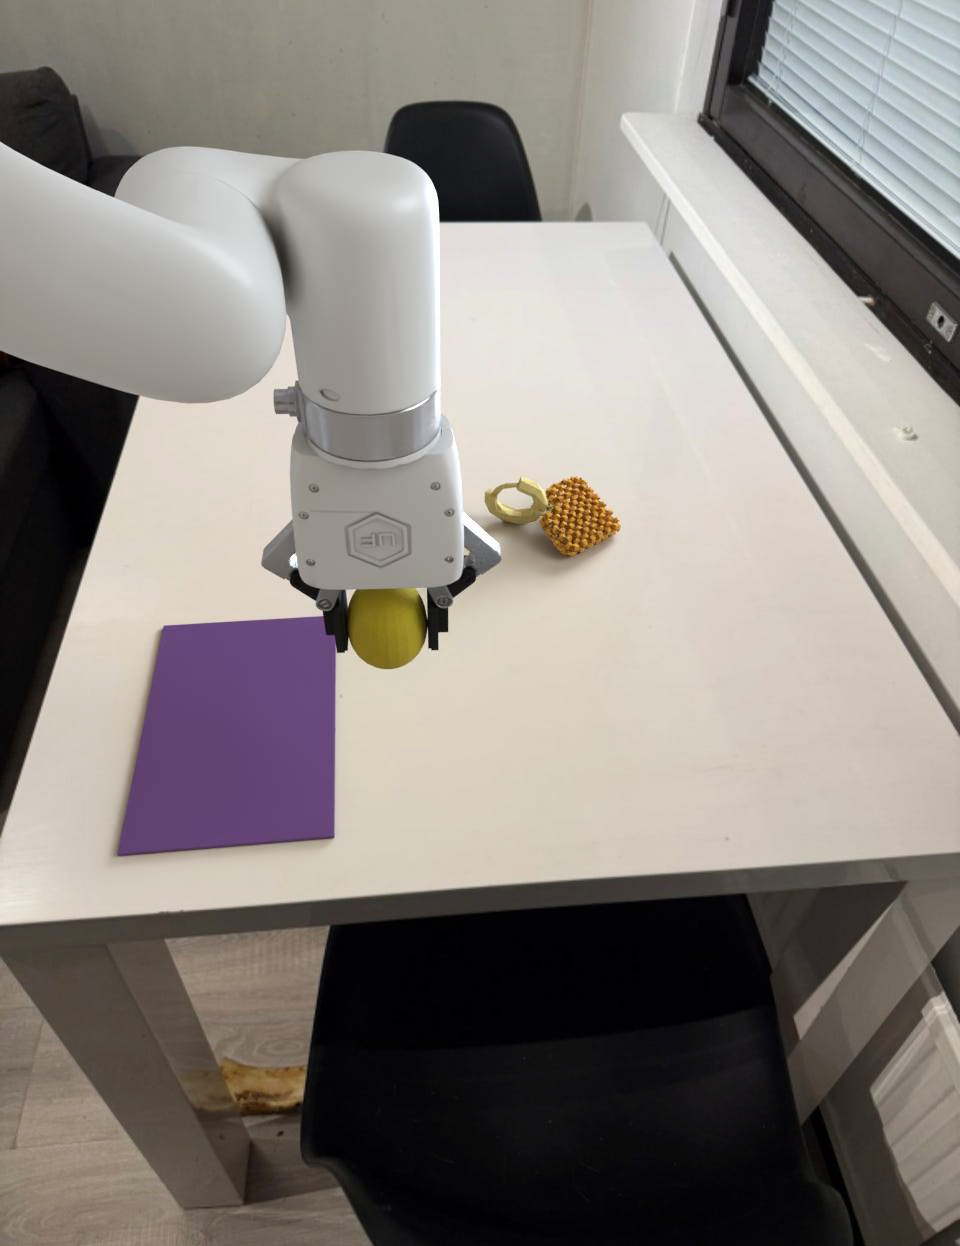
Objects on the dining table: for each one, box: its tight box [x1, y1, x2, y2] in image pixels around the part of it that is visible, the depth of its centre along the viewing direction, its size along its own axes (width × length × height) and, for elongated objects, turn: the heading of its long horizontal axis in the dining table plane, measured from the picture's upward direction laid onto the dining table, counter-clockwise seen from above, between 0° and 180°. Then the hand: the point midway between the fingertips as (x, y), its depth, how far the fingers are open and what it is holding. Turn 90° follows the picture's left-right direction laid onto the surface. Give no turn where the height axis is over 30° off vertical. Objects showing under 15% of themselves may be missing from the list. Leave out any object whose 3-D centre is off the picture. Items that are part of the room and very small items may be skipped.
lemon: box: [346, 588, 428, 670], centre depth 59 cm, size 6×6×8 cm
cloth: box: [117, 615, 337, 857], centre depth 74 cm, size 24×16×1 cm, turn 6°
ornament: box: [484, 475, 622, 557], centre depth 92 cm, size 7×10×15 cm
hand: (388, 635), depth 60 cm, fingers closed on lemon, 5 cm apart
